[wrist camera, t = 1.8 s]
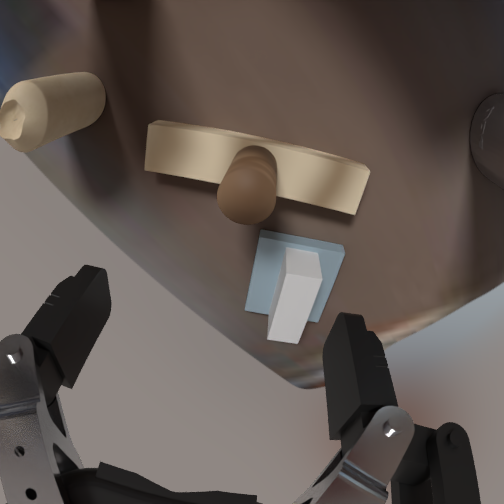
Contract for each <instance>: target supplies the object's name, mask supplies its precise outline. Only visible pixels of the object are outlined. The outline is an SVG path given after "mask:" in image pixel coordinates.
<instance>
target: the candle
mask: <svg viewBox="0 0 504 504" xmlns="http://www.w3.org/2000/svg"><path fill="white" fill-rule="evenodd" d="M105 101H106V93H105V88H104V86H103V84H102V82H101V80H100V79H99V78H98V77H97V76H96V75H94V74H92V73H88V72H77V73H68V74H61V75H54V76H48V77H42V78H36V79H31V80H25V81H21V82H19V83H17V84H15V85H14V86H13V87H12V88H11V89H10V90H9V91H8V93H7V94H6V96H5V99H4V101H3V104H2V107H1V109H0V136H1V137H2V138H4V139H5V140H6V141H7V142H8V143H9V144H10V145H11V146H12V147H13V148H14V149H15V150H18V151H20V152H30V151H32V150H35V149H37V148H39V147H41V146H43V145H45V144H47V143H49V142H52V141H54V140H56V139H58V138H61V137H63V136H65V135H68V134H70V133H72V132H75V131H77V130H80V129H82V128H85V127H87V126H89V125H91V124H92V123H94V122H95V121H96V120H97V119H98V118H99V117H100V115H101V114H102V112H103V109H104V106H105Z"/></svg>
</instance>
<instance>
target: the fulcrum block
mask: <svg viewBox="0 0 504 504" xmlns="http://www.w3.org/2000/svg"><path fill="white" fill-rule="evenodd" d="M344 255H345V251H344V248H343V245H340V244H335V243H330V242H325V241H320V240H315V239H310V238H304V237H299V236H294V235H289V234H284V233H278V232H273V231H268V230H262V229H261V230H260V235H259V240H258V245H257V250H256V255H255V260H254V265H253V270H252V275H251V280H250V284H249V289H248V294H247V299H246V305H245V311H250V312H256V313H262V314H268V315H269V319H268V335H267V339H268V340H275V341H281V342H288V343H295V344H298V342H299V339H300V337H301V334H302V332H303V329H304V327H305V324H306V322H307V321H312V322H318V321H319V318H320V316H321V314H322V311H323V309H324V306H325V304H326V301H327V299H328V297H329V294H330V292H331V289H332V287H333V284H334V281H335V279H336V276H337V274H338V271H339V268H340V266H341V263H342V261H343V258H344Z"/></svg>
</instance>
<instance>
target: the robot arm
mask: <svg viewBox="0 0 504 504" xmlns="http://www.w3.org/2000/svg"><path fill="white" fill-rule="evenodd" d="M470 144H471V152H472V155H473V159H474V161H475V163H476V165H477V167H478V169H479V170H480V171H481V173H482V174H483V175H484V176H486V177H487V178H488V179H489V180H491V181H492V182H494V183H495V184H496V185H498V186H499V187H501V188H502V189H503V190H504V94H495V95H491V96H490V97H488V98H487V99H485V100H484V101H483V102H482V103H481V104H480V106H479V107H478V109H477V111H476V112H475V115H474V118H473V121H472V125H471V131H470ZM110 312H111V297H110V291H109V284H108V277H107V272H106V270H105V269H103V268H98V267H94V266H90V265H84V266H83V267H82V268H81V269H80V271H79V272H78V273H77V274H76V276H75V277H73V276H69V277H68V278H66V279H65V280H63V281H62V282H60V283H59V284H58V285H57V286H56V288H55V289H54V290H53V292H52V293H51V296H49V297H48V298H47V299H46V301H45V304H43V305H42V306H41V307H40V309H39V310H38V311H37V313H36V314H35V315H34V317H33V318H32V320H31V321H30V322H29V324H28V325H27V327H26V328H25V329H24V331H23V332H22V333H21V334H13V335H9V336H7V337H5V338H4V339H3V340H1V342H0V477H1V481H2V485H3V489H4V493H5V496H6V500H7V503H6V504H261V503H258V502H257V495H247V494H237V493H228V492H221V491H209V492H182V493H181V492H180V493H179V492H172V491H170V490H168V489H166V488H163V487H161V486H160V485H158V484H155V483H154V482H152V481H150V480H148V479H146V478H144V477H142V476H140V475H138V474H137V473H134V472H130V471H127V470H124V469H121V468H118V467H115V466H112V465H109V464H105V463H103V462H100V464H99V467H98V468H84V467H83V464H82V462H81V459H80V457H79V455H78V453H77V451H76V449H75V448H74V446H73V443H72V441H71V438H70V435H69V432H68V428H67V425H66V421H65V418H64V414H63V410H62V406H61V402H60V398H59V394H58V390H59V388H60V386H61V385H63V386H66V387H68V388H71V389H72V388H73V386H74V384H75V381H76V379H77V377H78V375H79V373H80V371H81V369H82V367H83V365H84V363H85V361H86V359H87V357H88V356H89V353H90V352H91V349H92V348H93V346H94V344H95V342H96V340H97V338H98V337H99V335H100V333H101V331H102V329H103V327H104V325H105V324H106V322H107V320H108V318H109V316H110ZM323 367H324V377H325V387H326V398H327V409H328V423H329V435H330V440H341V447H342V448H341V449H340V450H339V451H338V452H337V453H336V455H335V456H334V458H333V459H332V460H331V461H330V462H329V464H328V465H327V466H326V468H325V469H324V470H323V471H322V473H321V474H320V475H319V476H318V478H317V479H316V480H315V481H314V482H313V484H312V485H311V486H310V487H309V488H308V489H307V490H306V491H305V492H304V493H303V494H302V495H301V496H300V497H299V498H298V499H297V500H296V501H295V502H294V503H293V504H385V502H386V500H387V498H388V492H387V491H386V487H387V485H388V483H389V481H391V493H392V504H481V502H480V494H479V488H478V481H477V476H476V470H475V465H474V460H473V455H472V450H471V446H470V442H469V438H468V435H467V433H466V431H465V430H464V429H463V428H462V427H461V426H460V425H458V424H456V423H453V422H449V423H445V424H443V425H442V426H441V427H439V428H438V429H437V430H435V429H431V428H427V427H424V426H420V425H417V424H414V423H413V420H412V418H411V417H410V415H409V414H408V413H407V412H406V411H404V410H403V409H401V408H399V407H398V404H397V399H396V395H395V391H394V387H393V383H392V380H391V375H390V372H389V368H387V367H388V364H387V360H386V358H385V353H384V350H383V346H382V343H381V341H380V340H379V339H378V337H377V336H376V335H375V333H374V332H373V331H367V329H366V325H365V322H364V318H363V316H362V315H358V314H351V313H343V312H341V313H339V314H338V316H337V318H336V320H335V323H334V325H333V327H332V329H331V331H330V333H329V335H328V337H327V340H326V342H325V344H324V348H323ZM431 484H432V485H431ZM432 493H433V494H432Z"/></svg>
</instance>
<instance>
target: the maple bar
mask: <svg viewBox="0 0 504 504" xmlns="http://www.w3.org/2000/svg"><path fill="white" fill-rule="evenodd" d="M145 170H146V171H152V172H158V173H164V174H170V175H175V176H181V177H186V178H192V179H197V180H203V181H208V182H213V183H218V184H220V185H219V188H218V191H217V201H218V205H219V207H220V209H221V211H222V212H223V214H224V215H225V216H226V217H227V218H229V219H230V220H232V221H234V222H236V223H239V224H244V225H251V224H256V223H259V222H261V221H263V220H265V219H266V218H267V217H269V215H270V214H271V213H272V211H273V210H274V207H275V204H276V196H279V197H284V198H288V199H292V200H297V201H301V202H305V203H309V204H313V205H317V206H321V207H325V208H329V209H333V210H337V211H341V212H345V213H349V214H353V215H355V214H356V211H357V208H358V205H359V203H360V200H361V197H362V194H363V192H364V189H365V186H366V183H367V180H368V177H369V174H370V171H369V169H368V168H367V167H366V166H365V165H364V164H363V163H360V162H356V161H353V160H350V159H346V158H343V157H339V156H336V155H332V154H328V153H325V152H321V151H317V150H314V149H310V148H306V147H302V146H298V145H294V144H289V143H285V142H281V141H277V140H272V139H268V138H263V137H258V136H253V135H249V134H244V133H238V132H233V131H228V130H222V129H217V128H211V127H205V126H198V125H192V124H185V123H178V122H171V121H163V120H157V121H155V122H153V123H150V124H148V133H147V144H146V156H145Z"/></svg>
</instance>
